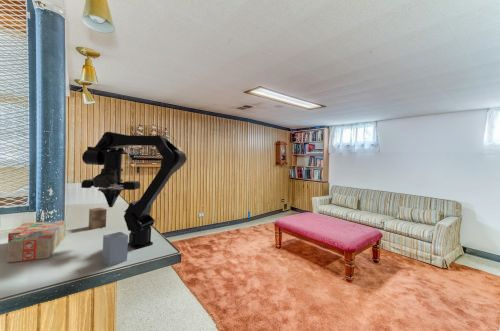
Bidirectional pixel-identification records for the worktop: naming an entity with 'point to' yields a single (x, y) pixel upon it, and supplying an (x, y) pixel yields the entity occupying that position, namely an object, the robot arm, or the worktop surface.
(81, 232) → the worktop surface
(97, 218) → the walnut block
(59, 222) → the stack of blocks
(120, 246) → the slate-blue block
